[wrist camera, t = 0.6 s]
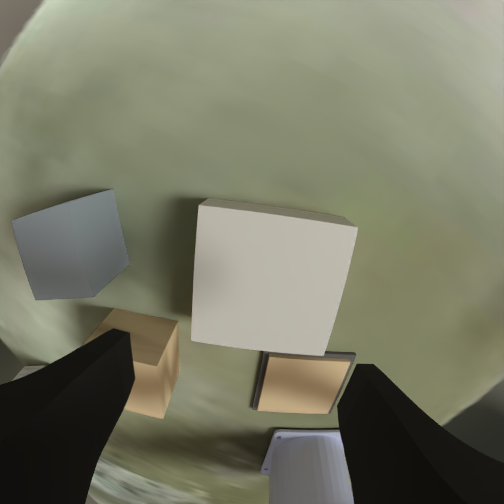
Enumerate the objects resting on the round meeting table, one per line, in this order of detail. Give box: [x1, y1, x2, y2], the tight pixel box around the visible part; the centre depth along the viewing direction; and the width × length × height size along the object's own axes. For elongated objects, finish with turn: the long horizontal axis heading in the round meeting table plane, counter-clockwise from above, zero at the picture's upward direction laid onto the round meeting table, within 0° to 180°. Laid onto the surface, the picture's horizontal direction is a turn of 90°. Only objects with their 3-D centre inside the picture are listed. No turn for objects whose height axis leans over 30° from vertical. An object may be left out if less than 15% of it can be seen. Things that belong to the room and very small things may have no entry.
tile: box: [252, 351, 356, 414], centre depth 20 cm, size 7×7×1 cm
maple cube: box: [82, 308, 179, 419], centre depth 17 cm, size 5×5×5 cm
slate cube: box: [12, 189, 130, 300], centre depth 15 cm, size 5×5×5 cm
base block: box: [191, 198, 358, 356], centre depth 16 cm, size 8×8×3 cm
